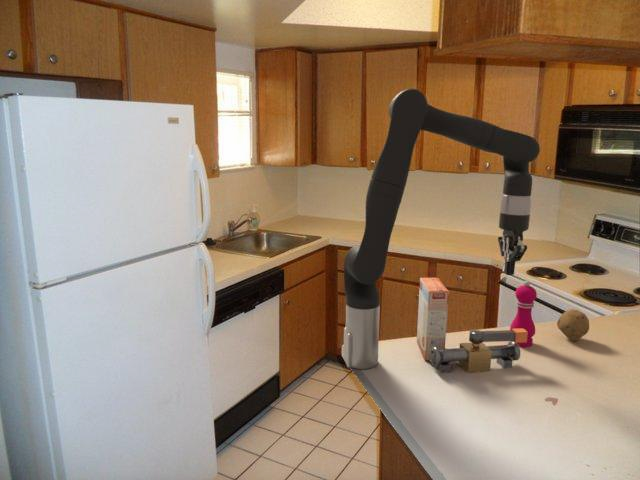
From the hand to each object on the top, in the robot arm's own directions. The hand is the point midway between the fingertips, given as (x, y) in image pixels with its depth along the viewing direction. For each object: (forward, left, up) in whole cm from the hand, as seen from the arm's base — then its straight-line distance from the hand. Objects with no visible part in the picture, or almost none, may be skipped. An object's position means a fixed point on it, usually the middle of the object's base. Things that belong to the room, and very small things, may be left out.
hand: (508, 274), depth 139 cm
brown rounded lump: (+29, +10, -26) cm, 40 cm away
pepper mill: (+12, +10, -26) cm, 30 cm away
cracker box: (-18, +9, -26) cm, 33 cm away
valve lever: (-4, -3, -18) cm, 19 cm away
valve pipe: (-10, -3, -26) cm, 27 cm away
